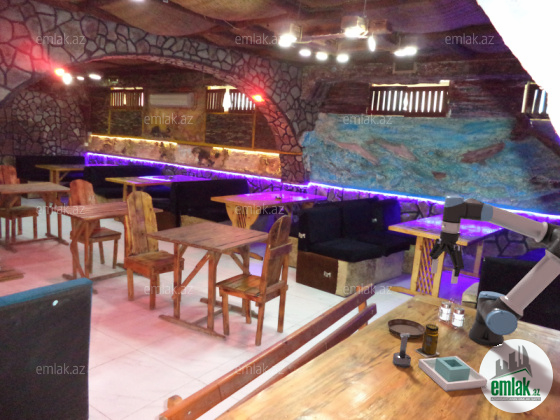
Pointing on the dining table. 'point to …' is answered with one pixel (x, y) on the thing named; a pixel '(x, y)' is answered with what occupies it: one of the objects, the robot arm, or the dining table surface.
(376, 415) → the dining table surface
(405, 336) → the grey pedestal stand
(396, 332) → the plant saucer
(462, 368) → the collar
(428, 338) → the condiment
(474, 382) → the tray
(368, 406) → the dining table surface
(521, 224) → the robot arm
